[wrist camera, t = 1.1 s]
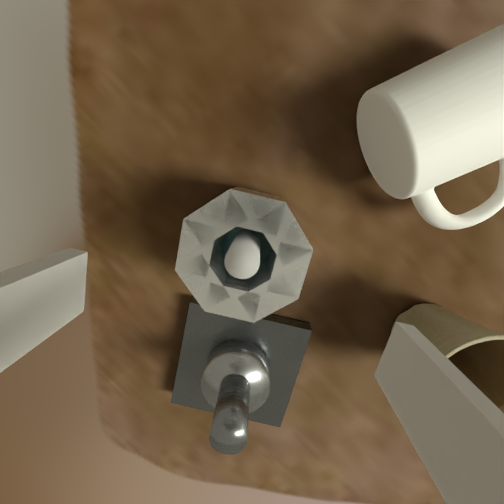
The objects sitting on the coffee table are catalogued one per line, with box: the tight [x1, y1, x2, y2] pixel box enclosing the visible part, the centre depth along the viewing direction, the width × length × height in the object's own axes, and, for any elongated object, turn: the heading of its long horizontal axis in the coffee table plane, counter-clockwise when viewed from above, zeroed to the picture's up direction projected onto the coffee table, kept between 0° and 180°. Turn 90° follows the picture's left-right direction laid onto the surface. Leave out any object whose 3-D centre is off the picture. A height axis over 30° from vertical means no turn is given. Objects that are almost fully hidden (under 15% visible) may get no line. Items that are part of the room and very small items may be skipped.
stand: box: [222, 227, 271, 279], centre depth 22 cm, size 7×7×8 cm
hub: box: [171, 296, 312, 454], centre depth 24 cm, size 12×12×9 cm
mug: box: [357, 24, 504, 230], centre depth 19 cm, size 12×10×8 cm
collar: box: [175, 187, 313, 323], centre depth 22 cm, size 9×9×6 cm
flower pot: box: [391, 304, 504, 413], centre depth 23 cm, size 9×9×9 cm
